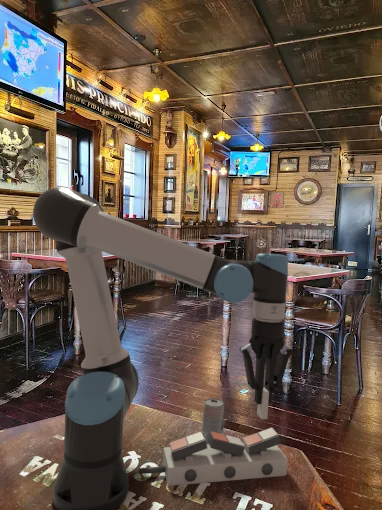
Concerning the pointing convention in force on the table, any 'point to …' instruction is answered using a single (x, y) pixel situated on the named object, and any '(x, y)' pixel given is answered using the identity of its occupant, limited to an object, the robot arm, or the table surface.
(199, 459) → the power strip
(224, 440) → the rocker
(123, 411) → the robot arm
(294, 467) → the table surface
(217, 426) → the energy drink
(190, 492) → the table surface
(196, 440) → the rocker
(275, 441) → the rocker
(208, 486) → the table surface
